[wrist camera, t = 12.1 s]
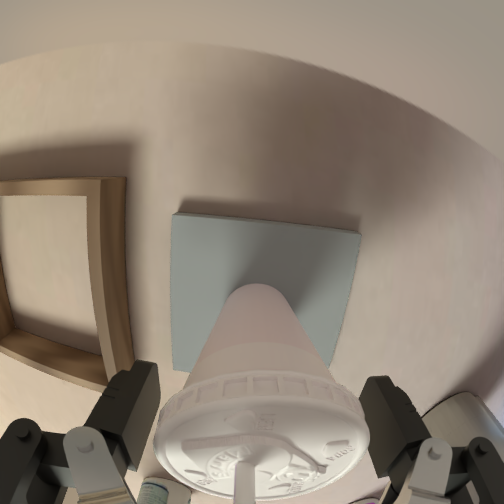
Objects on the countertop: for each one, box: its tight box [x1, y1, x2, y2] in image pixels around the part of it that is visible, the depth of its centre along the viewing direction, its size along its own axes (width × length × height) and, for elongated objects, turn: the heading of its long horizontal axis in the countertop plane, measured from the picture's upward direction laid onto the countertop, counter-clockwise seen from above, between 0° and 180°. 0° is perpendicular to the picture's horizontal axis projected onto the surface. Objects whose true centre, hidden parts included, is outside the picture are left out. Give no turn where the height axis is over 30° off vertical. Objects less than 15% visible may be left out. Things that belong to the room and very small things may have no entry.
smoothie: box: [153, 283, 370, 504], centre depth 9 cm, size 6×6×14 cm
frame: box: [0, 177, 135, 393], centre depth 15 cm, size 14×14×3 cm
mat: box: [170, 212, 362, 373], centre depth 16 cm, size 10×10×1 cm
